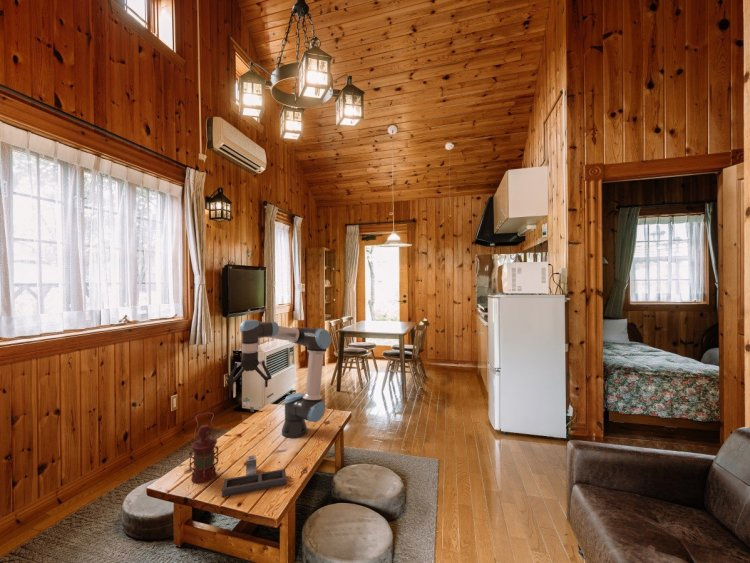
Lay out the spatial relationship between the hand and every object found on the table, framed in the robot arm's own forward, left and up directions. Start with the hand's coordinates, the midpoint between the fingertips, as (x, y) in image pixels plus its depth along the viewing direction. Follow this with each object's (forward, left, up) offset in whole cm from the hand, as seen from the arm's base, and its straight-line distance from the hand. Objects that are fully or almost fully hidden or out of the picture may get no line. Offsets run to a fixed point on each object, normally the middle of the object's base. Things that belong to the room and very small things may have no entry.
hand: (249, 395), depth 161 cm
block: (-1, +1, -37) cm, 37 cm away
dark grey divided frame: (-3, +13, -37) cm, 39 cm away
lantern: (+20, -2, -37) cm, 42 cm away
